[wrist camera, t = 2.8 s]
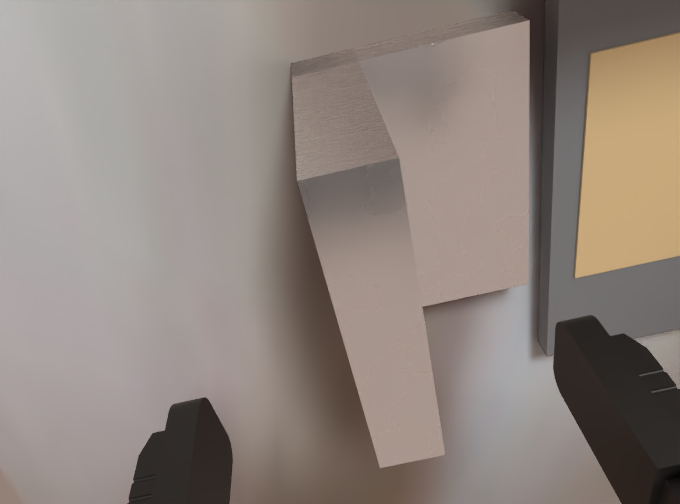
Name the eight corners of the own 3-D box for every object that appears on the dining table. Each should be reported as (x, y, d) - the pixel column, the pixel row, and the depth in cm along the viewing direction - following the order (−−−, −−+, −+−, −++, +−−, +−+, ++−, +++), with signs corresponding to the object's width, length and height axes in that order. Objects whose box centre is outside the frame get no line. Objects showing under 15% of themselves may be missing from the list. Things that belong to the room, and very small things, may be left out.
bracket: (291, 62, 17) (297, 181, 10) (511, 9, 16) (663, 96, 10) (351, 297, 22) (380, 468, 16) (515, 261, 22) (611, 421, 16)
